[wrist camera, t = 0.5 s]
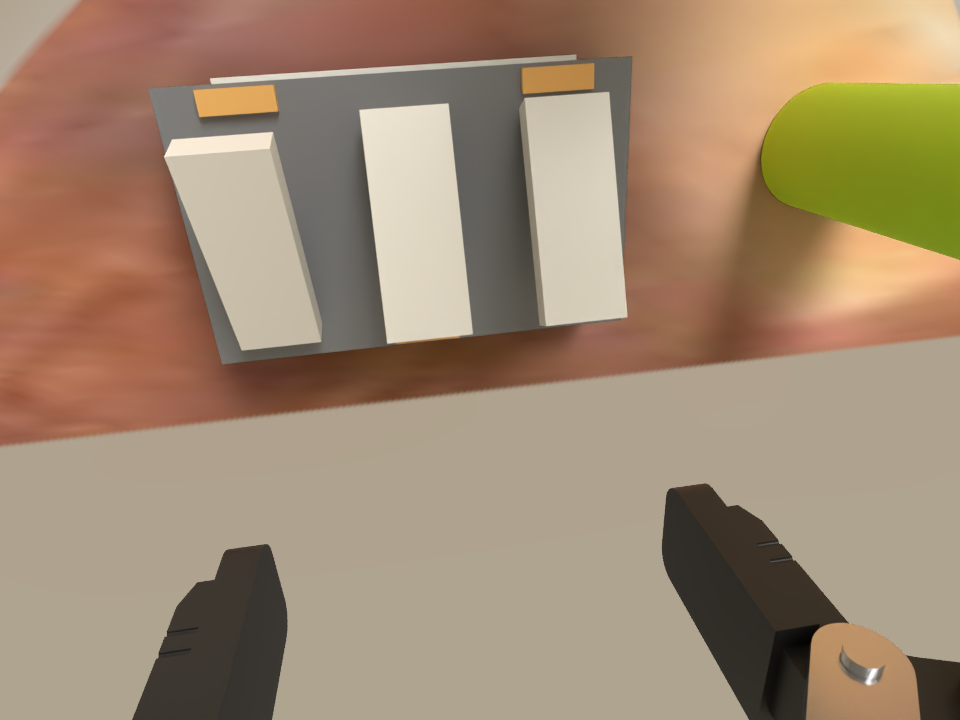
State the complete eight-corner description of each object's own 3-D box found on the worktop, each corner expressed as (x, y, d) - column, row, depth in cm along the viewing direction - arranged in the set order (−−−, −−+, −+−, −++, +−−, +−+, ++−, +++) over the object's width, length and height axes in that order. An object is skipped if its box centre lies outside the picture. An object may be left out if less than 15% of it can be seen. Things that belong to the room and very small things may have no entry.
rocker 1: (273, 131, 20) (269, 148, 19) (322, 322, 26) (321, 342, 25) (172, 139, 20) (164, 156, 19) (245, 331, 26) (241, 350, 25)
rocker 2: (446, 113, 23) (448, 103, 22) (469, 332, 24) (473, 334, 23) (361, 120, 23) (359, 109, 22) (388, 342, 24) (387, 343, 23)
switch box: (599, 53, 27) (646, 49, 22) (594, 292, 32) (632, 331, 27) (180, 81, 25) (131, 82, 21) (241, 330, 30) (213, 378, 25)
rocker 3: (599, 102, 24) (608, 91, 23) (617, 316, 25) (627, 317, 23) (518, 108, 24) (524, 97, 22) (539, 325, 24) (546, 326, 23)
